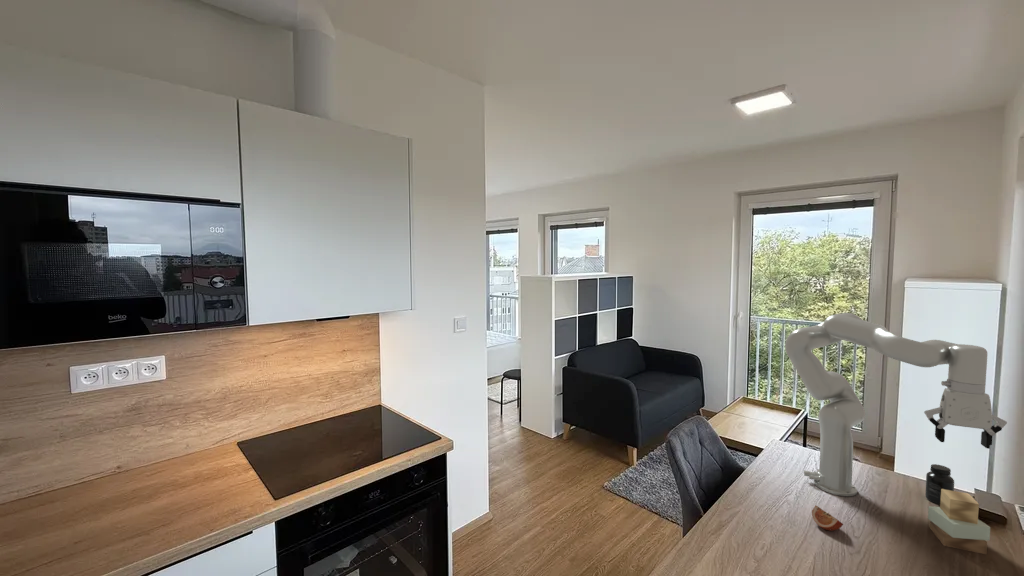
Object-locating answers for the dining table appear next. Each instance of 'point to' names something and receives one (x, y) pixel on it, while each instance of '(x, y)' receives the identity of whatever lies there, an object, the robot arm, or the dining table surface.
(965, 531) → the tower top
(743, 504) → the dining table surface
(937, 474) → the supplement bottle
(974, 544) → the block
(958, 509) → the oak cube
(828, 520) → the fruit slice
